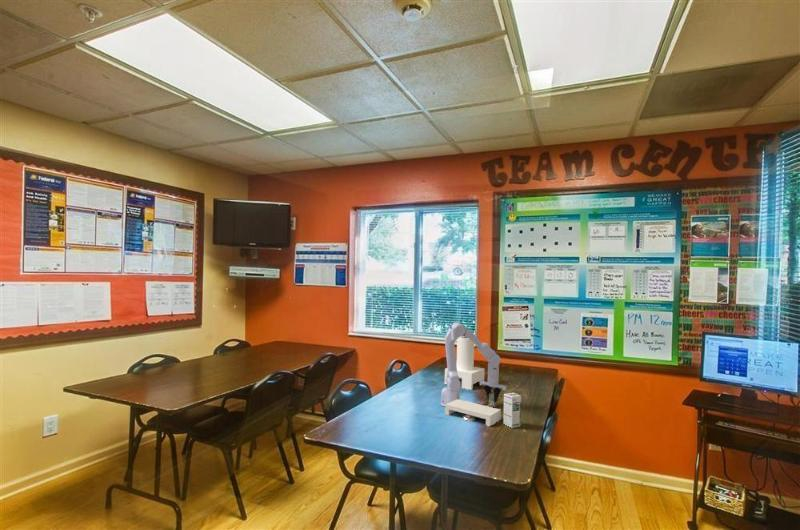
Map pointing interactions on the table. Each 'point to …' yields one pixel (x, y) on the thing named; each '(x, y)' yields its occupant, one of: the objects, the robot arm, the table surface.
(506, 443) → the table surface
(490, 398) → the gray rectangular block
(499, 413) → the low shelf
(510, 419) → the syrup box
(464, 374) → the white column on base
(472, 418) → the steel disc
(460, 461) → the table surface
